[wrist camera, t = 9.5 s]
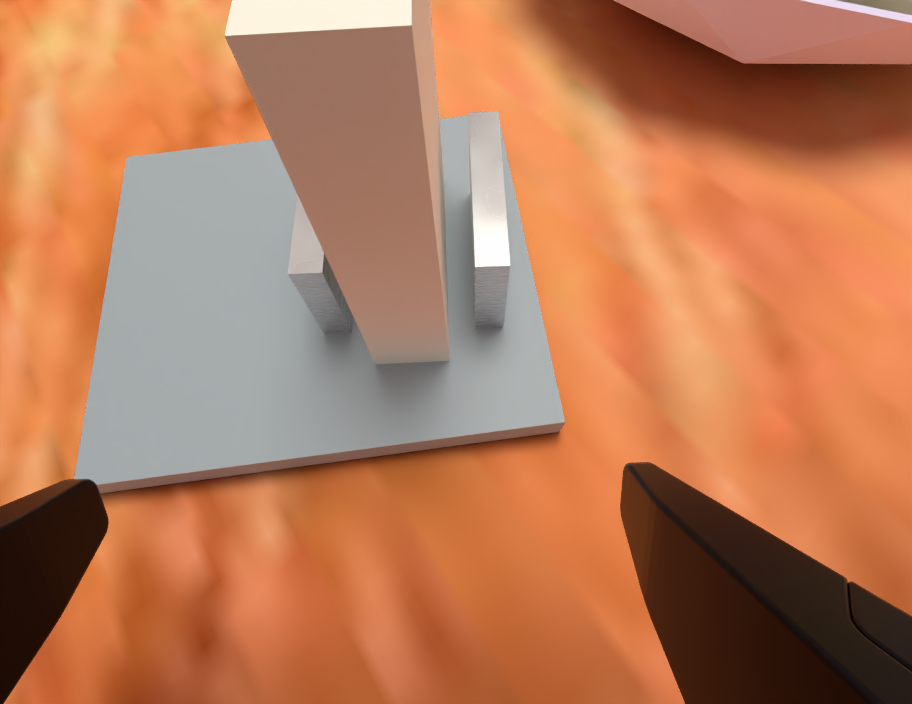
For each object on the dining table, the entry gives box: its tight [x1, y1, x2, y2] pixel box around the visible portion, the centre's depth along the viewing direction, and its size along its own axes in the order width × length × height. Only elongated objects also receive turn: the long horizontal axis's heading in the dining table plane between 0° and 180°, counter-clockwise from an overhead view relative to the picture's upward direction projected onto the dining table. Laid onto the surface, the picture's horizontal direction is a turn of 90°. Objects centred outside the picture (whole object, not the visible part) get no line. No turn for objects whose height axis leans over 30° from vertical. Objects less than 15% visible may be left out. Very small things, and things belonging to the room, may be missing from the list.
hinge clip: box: [288, 111, 510, 334], centre depth 18 cm, size 6×6×4 cm
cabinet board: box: [74, 116, 565, 493], centre depth 20 cm, size 14×16×1 cm
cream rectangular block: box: [225, 0, 450, 364], centre depth 14 cm, size 8×4×12 cm, turn 2°
